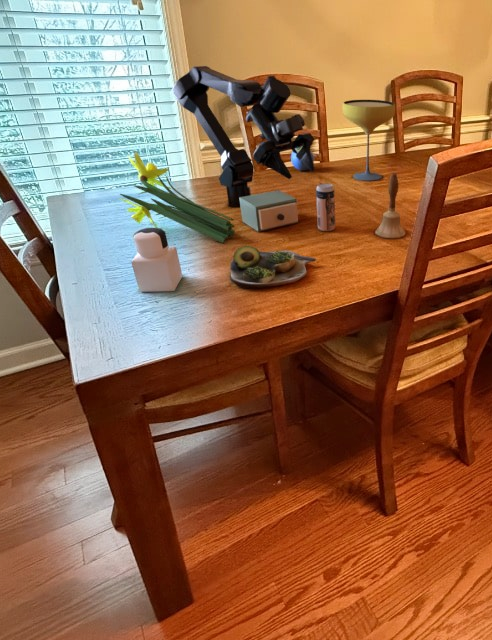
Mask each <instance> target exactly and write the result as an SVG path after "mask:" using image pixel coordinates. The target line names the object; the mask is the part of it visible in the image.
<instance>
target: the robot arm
mask: <svg viewBox="0 0 492 640" xmlns="http://www.w3.org/2000/svg"><path fill="white" fill-rule="evenodd" d="M210 88H211V89H213V90H215V91H217V92H220V93H222V94H225V95H226V96H228V97H229V100H230V101H231V102H232V103H234V104H236V105H237V106H238V107H240V108H246V107H251V106H252V107H251V109H250V110H246V117H245V120H246V122H247V123H252V122H253V123H254V124H255V126H256V127H257V128H258V130H259V131H260V133H261V135H260V139H261V140H262V141H261V142H259V144H258V145H257V147H256V148H255V150H254V152H253V153H252V157H253V160H254V161H255V163H256V164H257V165H261V166H262V167H267V168H268V169H271V170H273V171H274V172H276V173H278V174H280V175H281V176H283V177H284V178H286V179H287V180H291V179H292V177H293V176H292V174H291V172H290V170H289V168H288V167H287V165H286V164H285V162H284V160H283V159H282V157H281V153H282V152H283V153H284V152H286V151H292V152H294V153H296V154H297V155H296V157H297V158H298V159H299V160H300V161H301V162H302V163H303V164H304V165H305V166H306V167H307V168H308V171H310V172H311V173H313V172H315V168H316V167H315V164H314V165H313V163H314V162H313V161H312V157H311V153H310V151H311V146H312V145H313V142H314V141H315V137H314V136H313V135H312V133H311V132H303V133H298V134H297V136H296V134H295V133H297V132H299V131H303V130H304V128H303V127H304V126H305V125H306V122H305V119H304V118H303V117H302V116H301V114H300V113H297V114H294V115H292V116H291V117H288V118H286V119H280V120H279V118H278V117H277V115H276V114H278V113H280V112H281V110H282V109H283V107H284V106H285V105H286V103H287V102H288V100H289V98H290V96H291V90H290V88H289V86H288V84H285V82H283V81H281V80H280V79H277V77H276V75H268V76H267V77H266V80H265V82H264V84H263V85H261V83H260V82H258V81H256V80H248V79H236V78H234V77H232V76H229V75H227V74H224V73H222V72H219V71H217V70H215V69H213V68H211V67H209V66H207V65H197V66H193V67H191V69H189V71H188V72H187V73H185V74H184V75H183V76H181V77H179V78H178V80H177V81H175V82H174V84H173V87H172V92H173V96H174V97H175V99H176V100H177V102H178V103H179V104H180V105H181V107H182V108H184V109H185V110H187V112H190V113H191V114H193V115H194V117H195V118H196V120H197V122H198V123H199V125H200V126H201V128H202V130H203V131H204V132H205V134H206V136H207V137H208V138H209V140H210V142H211V144H212V145H213V147H214V148H215V150H216V151H217V153H218V154H219V156H220V167H221V169H222V172H221V173H220V175H219V176H218V181H219V183H220V185H221V186H222V187H225V189H226V196H227V207H240V199H239V197H244V196H250V195H252V193H251V191H252V190H251V187H250V186H249V183H252V182H253V178H254V171H255V166H254V164H253V162H252V161H253V160H252V158H250V156H249V155H248V152H247V151H246V149H244V148H242V149H238V148H237V147H235V145H234V144H233V142H232V141H231V139H230V137H229V135H228V134H227V133H226V131H225V130H224V127H222V125H221V123H220V121H219V120H218V118H217V117H216V116H215V114H214V113H213V111H212V109H211V107H210V106H209V96H208V93H207V92H208V91H209V90H210ZM295 136H296V137H295ZM294 137H295V139H294ZM292 139H294V140H292ZM264 140H266V141H264Z"/></svg>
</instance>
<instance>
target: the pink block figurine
mask: <svg viewBox="0 0 492 640" xmlns="http://www.w3.org/2000/svg"><path fill="white" fill-rule="evenodd" d="M132 238H133V242H134V245H135V250H136V255H135V256H134V257H133V259H132V260H131V262H130V263H131V267H132V269H133V273H134V276H135V281H136V283H137V287H138V290H139V292H140V293H146V292H148V293H149V292H174V291H176V288H177V286H179V283H180V281H181V279H182V278H183V272H182V268H181V262H180V258H179V254H178V249H177V247H176V246H169V242H168V238H167V234H166V230H164V229H162V228H159V227H158V228H156V227H144V228H141V229H139V230H137V231H135V232H134V234H133V235H132Z"/></svg>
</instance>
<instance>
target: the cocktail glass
mask: <svg viewBox="0 0 492 640" xmlns="http://www.w3.org/2000/svg"><path fill="white" fill-rule="evenodd" d="M395 111H396V104H395V103H394V102H393V101H389V100H380V99H351V100H345V101H344V102H343V103H342V114H343V116H344V117H345V118H346V119H347V120H348V121H349V122H351V123H352V124H355V125H356V126H358V127H360V129H362V130H363V132H364V133H365V135H367V139H366V141H367V142H366V143H367V144H366V165H365V166H366V167H365V171H364V172H363V171H362V172H358V173H357V172H356V173H354V174H353V175H352V178H353V179H354V180H357V181H361V182H375V181H379V180H381V179H383V175H382V174H379V173H376V172H371V171H370V135H372V134H373V132H374V131H375V129H376V128H378V127H380V126H383V124H385V123H388V122H389V121H390V120H391V119H393V117H394V116H395V113H396V112H395Z"/></svg>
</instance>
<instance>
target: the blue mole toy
mask: <svg viewBox="0 0 492 640" xmlns="http://www.w3.org/2000/svg"><path fill="white" fill-rule="evenodd" d="M310 153H311V157H312V161H313V165H314V166H315V163H314V161H315V159H317V158H318V157H319V155H318V154H314V152H313V151H312V150H310ZM296 155H297V154H296V153H294V152H293V151H292V152H291V154H290V161H291V164H292V166H293V167H294V168H295V169H296V170H298V171H307V170H308V171H309V169H308V168H307V167H306V166H305V165H304V164H303V163H302V162H301V161H300V160H299V159H298V158H297V157H296Z"/></svg>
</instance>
